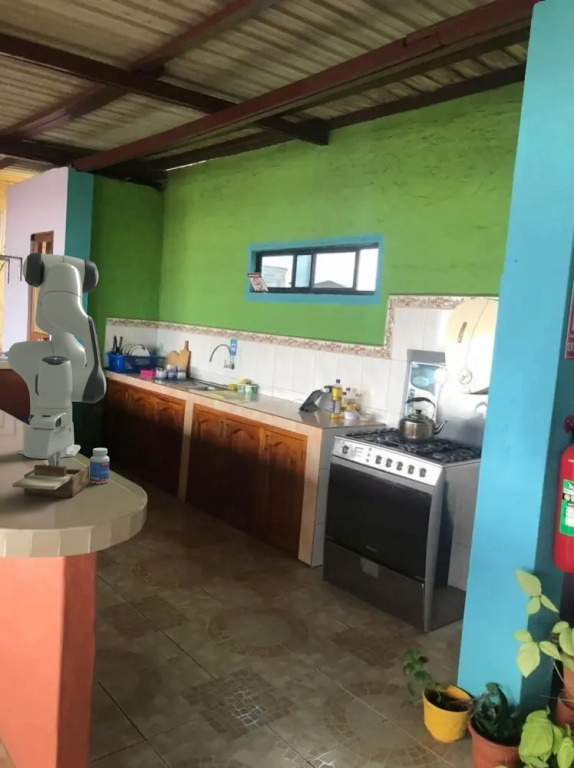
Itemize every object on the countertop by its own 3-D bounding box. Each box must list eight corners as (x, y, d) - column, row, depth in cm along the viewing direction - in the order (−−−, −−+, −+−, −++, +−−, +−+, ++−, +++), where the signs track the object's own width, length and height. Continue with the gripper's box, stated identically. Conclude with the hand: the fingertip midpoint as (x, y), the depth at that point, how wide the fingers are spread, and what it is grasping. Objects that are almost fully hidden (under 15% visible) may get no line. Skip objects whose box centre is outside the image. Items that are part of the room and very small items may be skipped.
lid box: (43, 482, 182) (44, 464, 181) (88, 485, 181) (89, 466, 181) (24, 494, 169) (24, 474, 168) (72, 497, 169) (72, 477, 168)
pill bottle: (103, 485, 183) (103, 451, 182) (86, 483, 184) (86, 450, 183) (112, 480, 188) (112, 448, 187) (95, 478, 189) (96, 446, 188)
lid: (34, 474, 172) (34, 463, 172) (73, 477, 172) (73, 465, 172) (12, 487, 159) (12, 474, 159) (55, 489, 159) (55, 476, 159)
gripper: (58, 411, 181) (57, 459, 182) (26, 422, 160) (26, 475, 162) (79, 412, 181) (79, 460, 182) (51, 423, 160) (50, 477, 161)
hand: (53, 467), depth 172 cm, fingers closed
